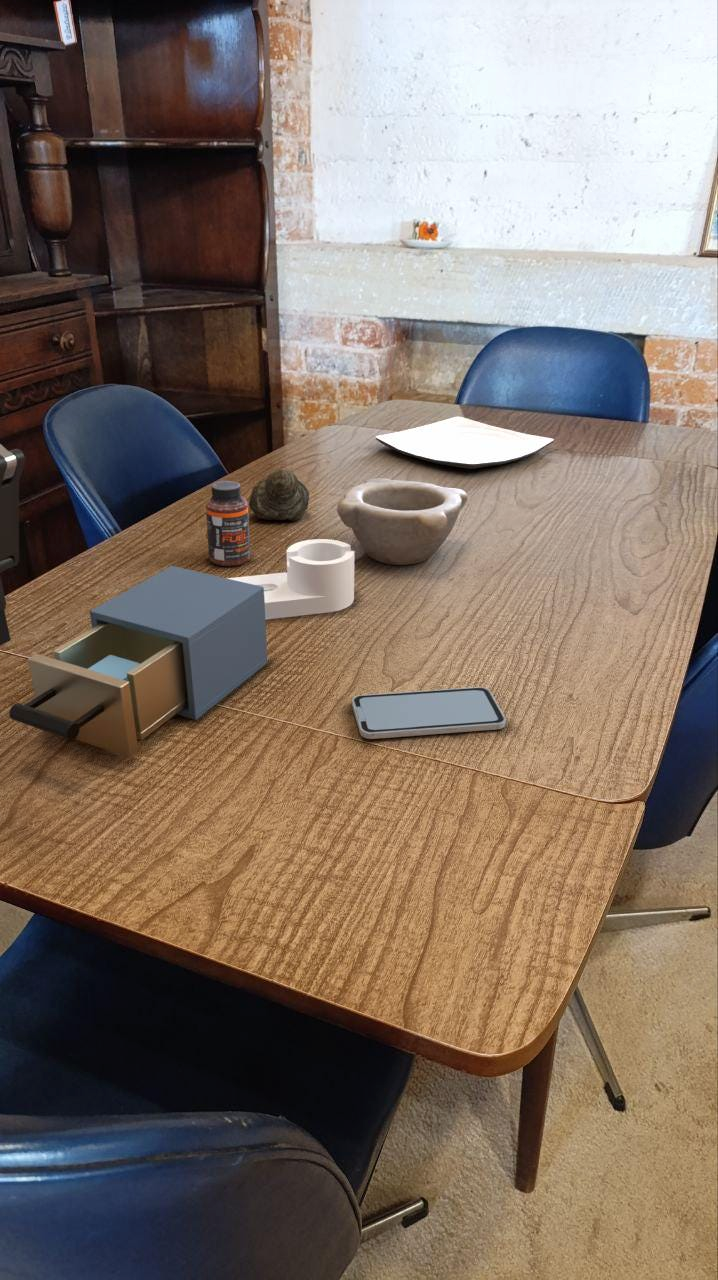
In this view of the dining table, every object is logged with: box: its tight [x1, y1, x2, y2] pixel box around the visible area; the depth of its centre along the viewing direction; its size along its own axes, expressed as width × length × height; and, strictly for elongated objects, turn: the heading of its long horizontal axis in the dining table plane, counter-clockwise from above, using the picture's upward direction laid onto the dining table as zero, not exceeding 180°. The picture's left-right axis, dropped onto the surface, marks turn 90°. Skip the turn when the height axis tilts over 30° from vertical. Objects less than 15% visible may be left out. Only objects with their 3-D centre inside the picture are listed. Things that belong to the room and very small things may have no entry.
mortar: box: [336, 477, 469, 566], centre depth 128 cm, size 17×17×9 cm
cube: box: [88, 655, 140, 681], centre depth 87 cm, size 4×4×4 cm
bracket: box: [226, 538, 355, 621], centre depth 113 cm, size 20×9×7 cm, turn 105°
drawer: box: [8, 621, 188, 759], centre depth 86 cm, size 18×11×8 cm, turn 153°
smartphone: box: [351, 686, 507, 740], centre depth 90 cm, size 7×1×15 cm
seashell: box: [248, 469, 310, 522], centre depth 142 cm, size 11×12×10 cm
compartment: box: [89, 565, 268, 721], centre depth 95 cm, size 14×13×10 cm
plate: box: [375, 416, 555, 469], centre depth 178 cm, size 29×29×3 cm
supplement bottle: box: [205, 480, 251, 567], centre depth 125 cm, size 6×6×11 cm
